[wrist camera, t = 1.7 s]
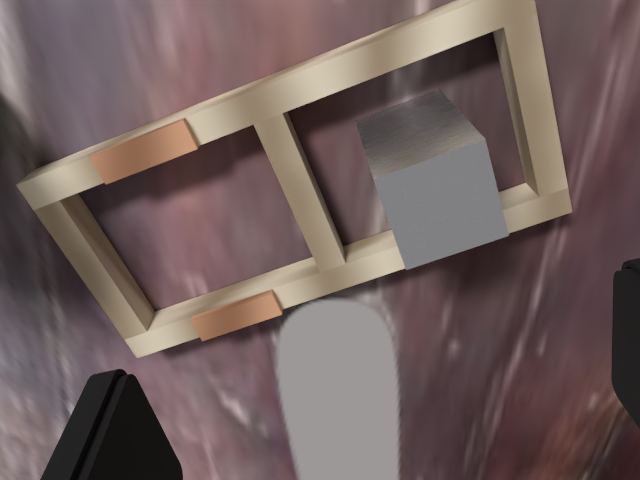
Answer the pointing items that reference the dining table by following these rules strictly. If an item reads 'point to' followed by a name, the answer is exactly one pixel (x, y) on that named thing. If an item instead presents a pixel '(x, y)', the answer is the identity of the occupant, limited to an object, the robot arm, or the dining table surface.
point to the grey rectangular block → (432, 178)
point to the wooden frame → (298, 172)
